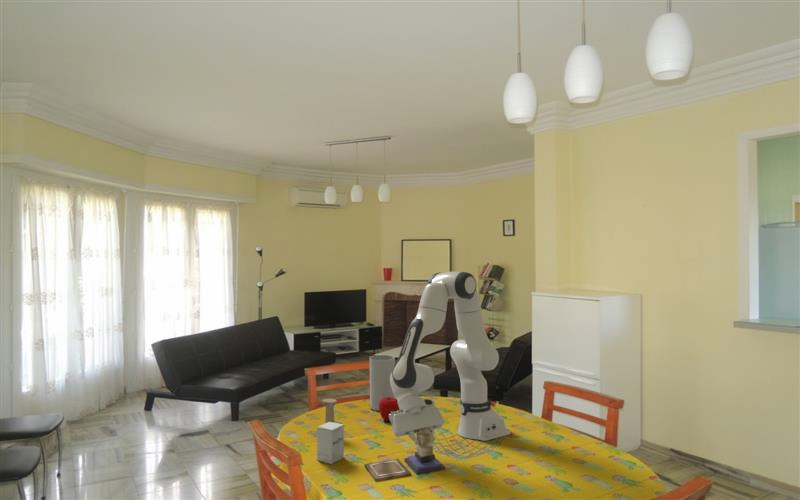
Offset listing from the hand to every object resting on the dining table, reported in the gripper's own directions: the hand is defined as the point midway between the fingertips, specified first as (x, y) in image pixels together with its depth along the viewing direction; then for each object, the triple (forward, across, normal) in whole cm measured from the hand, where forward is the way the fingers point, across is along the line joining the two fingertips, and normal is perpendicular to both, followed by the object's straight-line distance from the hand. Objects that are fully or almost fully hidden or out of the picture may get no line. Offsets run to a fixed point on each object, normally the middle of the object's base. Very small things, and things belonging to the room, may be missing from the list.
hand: (425, 442), depth 185 cm
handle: (-26, -20, +38) cm, 51 cm away
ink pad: (+6, 0, +6) cm, 9 cm away
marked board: (+4, -14, +8) cm, 17 cm away
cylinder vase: (-43, +17, +56) cm, 72 cm away
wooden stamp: (+4, 0, +5) cm, 6 cm away
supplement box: (-10, -28, +22) cm, 37 cm away
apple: (-30, +11, +43) cm, 53 cm away
